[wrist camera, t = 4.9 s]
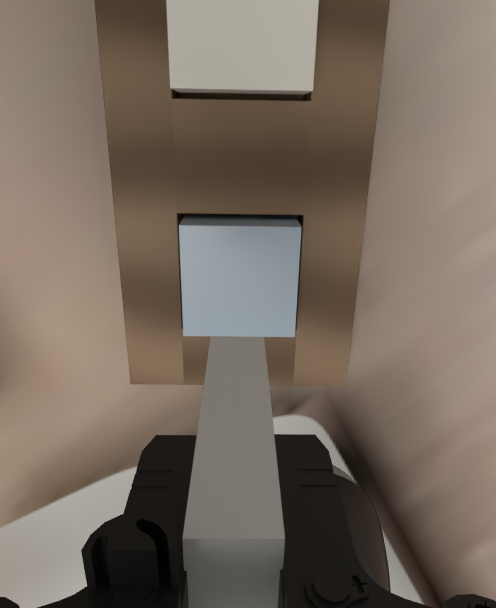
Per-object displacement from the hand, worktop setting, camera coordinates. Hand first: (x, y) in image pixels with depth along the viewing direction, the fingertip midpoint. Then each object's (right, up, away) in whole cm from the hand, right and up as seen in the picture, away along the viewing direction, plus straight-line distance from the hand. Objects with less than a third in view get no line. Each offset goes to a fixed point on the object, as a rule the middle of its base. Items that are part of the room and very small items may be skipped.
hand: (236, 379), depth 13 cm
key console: (0, +11, +13) cm, 17 cm away
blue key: (0, +4, +13) cm, 14 cm away
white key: (0, +15, +8) cm, 17 cm away
